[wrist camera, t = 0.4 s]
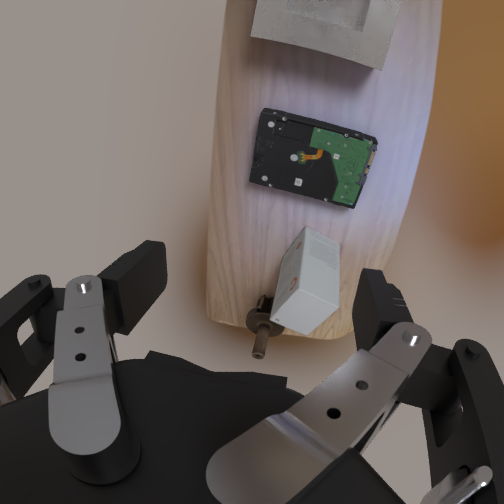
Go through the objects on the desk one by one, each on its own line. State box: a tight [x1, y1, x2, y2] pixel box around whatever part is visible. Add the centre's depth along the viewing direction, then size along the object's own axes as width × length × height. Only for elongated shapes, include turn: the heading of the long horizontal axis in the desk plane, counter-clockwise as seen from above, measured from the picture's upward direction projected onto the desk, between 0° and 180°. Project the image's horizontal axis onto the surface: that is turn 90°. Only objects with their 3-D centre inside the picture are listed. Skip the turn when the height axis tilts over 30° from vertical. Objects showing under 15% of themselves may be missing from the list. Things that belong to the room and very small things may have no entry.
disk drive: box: [249, 108, 378, 209], centre depth 38 cm, size 10×3×15 cm
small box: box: [270, 226, 340, 335], centre depth 45 cm, size 8×6×13 cm
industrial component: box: [246, 295, 285, 359], centre depth 55 cm, size 9×7×12 cm
